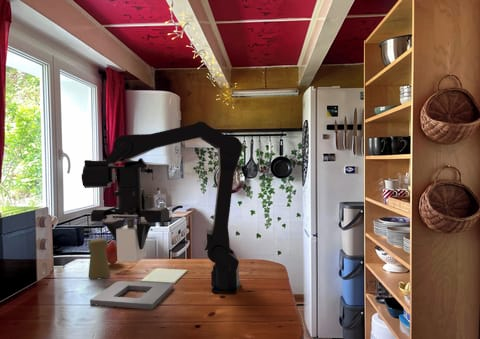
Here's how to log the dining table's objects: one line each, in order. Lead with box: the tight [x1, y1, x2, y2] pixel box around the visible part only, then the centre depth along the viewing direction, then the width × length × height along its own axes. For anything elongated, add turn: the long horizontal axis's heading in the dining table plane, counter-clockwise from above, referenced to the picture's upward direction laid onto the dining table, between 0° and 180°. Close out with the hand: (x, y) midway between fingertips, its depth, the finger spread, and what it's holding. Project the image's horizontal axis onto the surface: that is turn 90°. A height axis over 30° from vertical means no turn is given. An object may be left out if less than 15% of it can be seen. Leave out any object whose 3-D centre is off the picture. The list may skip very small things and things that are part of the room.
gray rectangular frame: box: [89, 280, 174, 310], centre depth 84 cm, size 16×12×1 cm
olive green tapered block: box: [87, 237, 111, 280], centre depth 99 cm, size 6×6×11 cm
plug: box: [116, 218, 147, 263], centre depth 83 cm, size 5×5×10 cm
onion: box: [106, 239, 117, 265], centre depth 109 cm, size 6×6×8 cm
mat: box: [140, 268, 188, 285], centre depth 97 cm, size 10×10×1 cm
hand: (131, 248), depth 83 cm, fingers closed on plug, 5 cm apart
